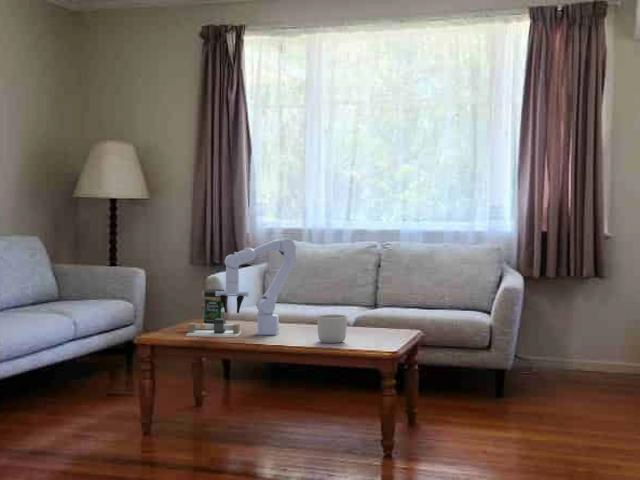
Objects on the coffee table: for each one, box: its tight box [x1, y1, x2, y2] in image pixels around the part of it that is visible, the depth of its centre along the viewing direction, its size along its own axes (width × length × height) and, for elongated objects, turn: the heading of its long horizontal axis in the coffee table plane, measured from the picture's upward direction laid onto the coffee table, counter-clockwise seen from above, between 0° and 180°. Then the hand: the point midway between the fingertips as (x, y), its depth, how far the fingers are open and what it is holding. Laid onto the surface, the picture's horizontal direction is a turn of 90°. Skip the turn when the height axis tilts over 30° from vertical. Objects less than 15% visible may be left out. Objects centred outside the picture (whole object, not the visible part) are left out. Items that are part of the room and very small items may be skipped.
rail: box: [185, 322, 242, 338], centre depth 352 cm, size 22×12×5 cm, turn 85°
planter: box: [316, 313, 348, 344], centre depth 335 cm, size 12×12×11 cm
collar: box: [213, 317, 226, 333], centre depth 352 cm, size 4×5×6 cm
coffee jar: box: [203, 288, 225, 324], centre depth 371 cm, size 10×8×19 cm
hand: (232, 312), depth 351 cm, fingers open, 5 cm apart
